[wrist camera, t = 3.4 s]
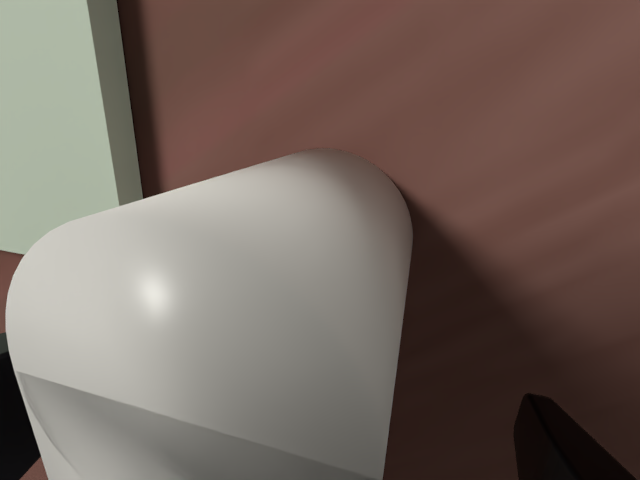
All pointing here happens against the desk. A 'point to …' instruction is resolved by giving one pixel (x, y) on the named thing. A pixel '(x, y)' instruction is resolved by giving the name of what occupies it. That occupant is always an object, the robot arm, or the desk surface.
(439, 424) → the desk surface
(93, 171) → the sage mat
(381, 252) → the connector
